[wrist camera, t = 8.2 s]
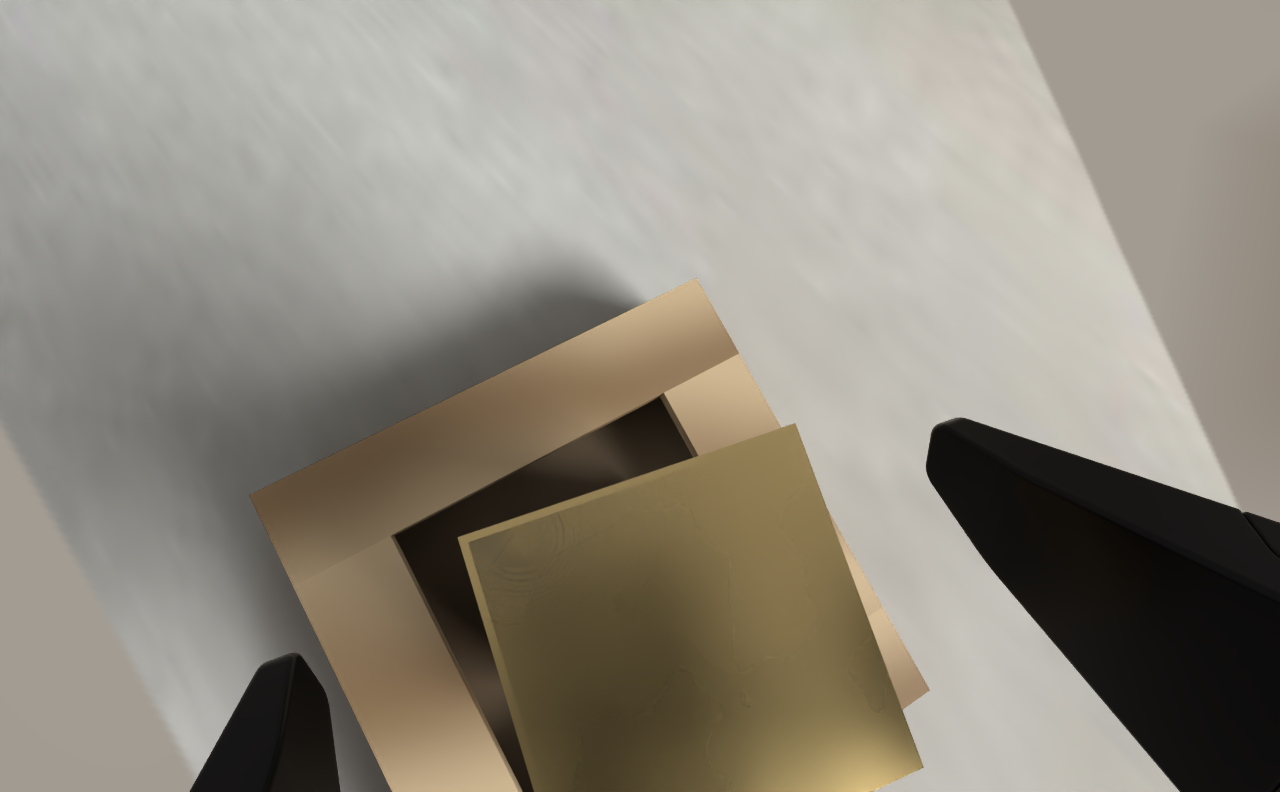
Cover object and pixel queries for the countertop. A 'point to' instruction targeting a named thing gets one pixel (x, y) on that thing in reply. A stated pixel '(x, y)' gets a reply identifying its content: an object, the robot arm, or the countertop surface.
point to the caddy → (488, 495)
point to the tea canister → (690, 634)
